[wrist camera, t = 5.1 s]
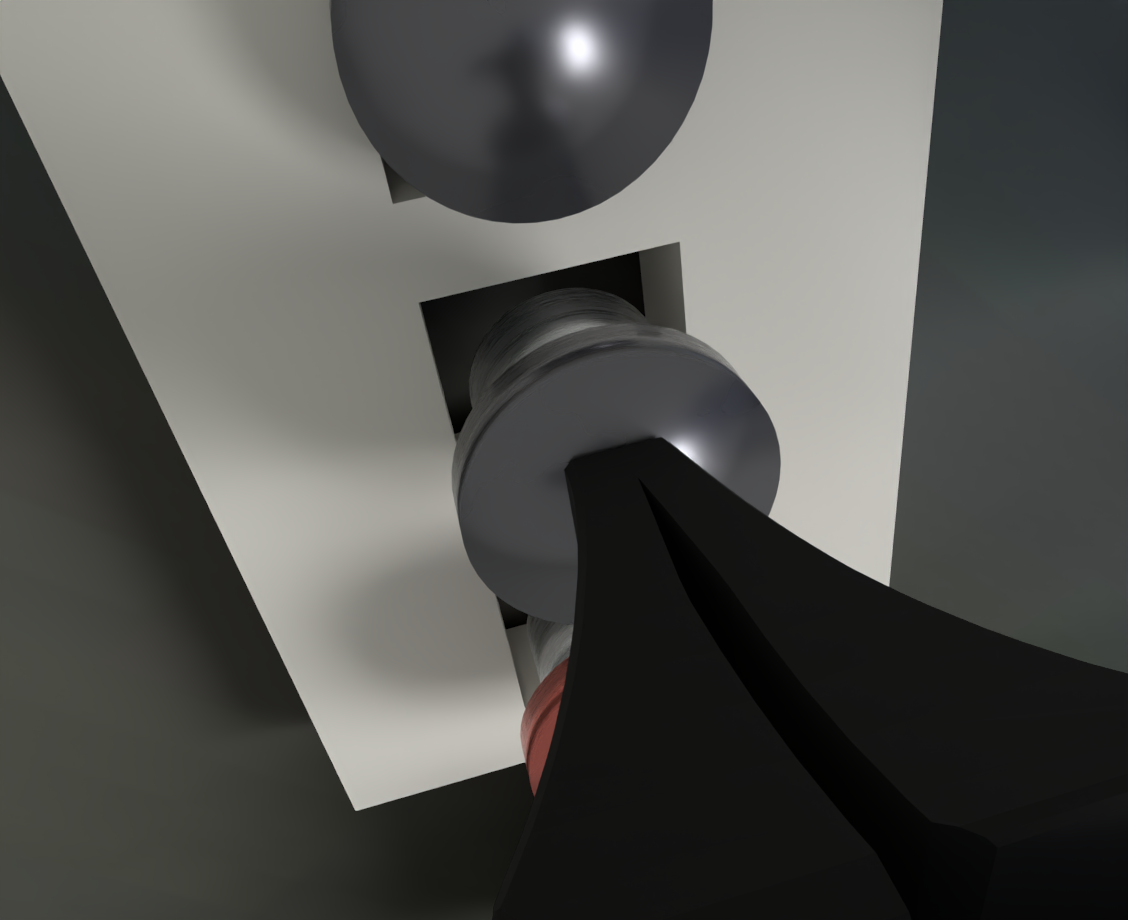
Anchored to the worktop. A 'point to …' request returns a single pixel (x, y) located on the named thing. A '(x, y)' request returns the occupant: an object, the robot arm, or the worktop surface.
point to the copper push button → (544, 691)
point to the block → (454, 265)
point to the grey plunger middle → (587, 431)
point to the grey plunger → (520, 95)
